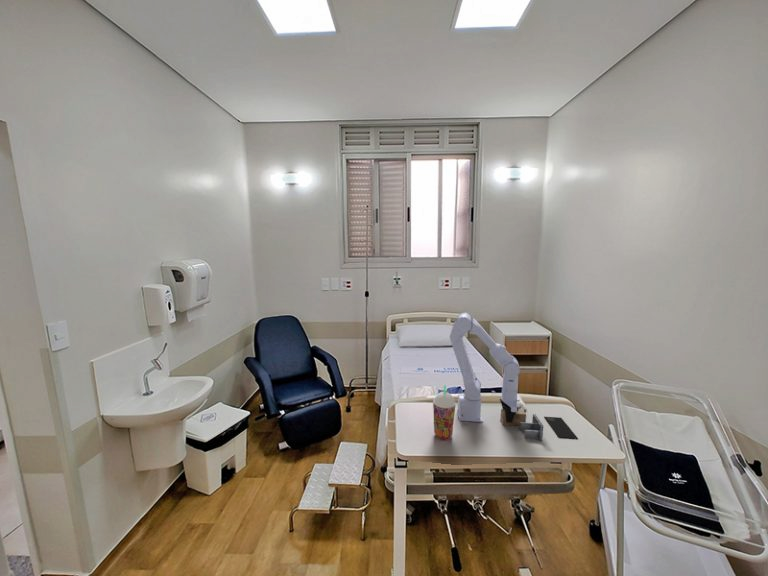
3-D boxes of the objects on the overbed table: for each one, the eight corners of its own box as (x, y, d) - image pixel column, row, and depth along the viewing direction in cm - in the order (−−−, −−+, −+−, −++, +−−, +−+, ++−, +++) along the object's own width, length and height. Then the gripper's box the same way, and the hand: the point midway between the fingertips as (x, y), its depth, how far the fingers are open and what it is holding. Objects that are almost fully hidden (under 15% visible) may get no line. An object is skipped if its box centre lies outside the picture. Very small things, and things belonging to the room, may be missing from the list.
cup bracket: (525, 439, 118) (526, 424, 117) (518, 427, 126) (519, 413, 125) (542, 440, 117) (543, 425, 117) (534, 428, 125) (535, 414, 124)
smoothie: (428, 436, 119) (429, 386, 117) (438, 426, 126) (440, 379, 123) (448, 445, 114) (450, 393, 112) (458, 434, 121) (460, 385, 118)
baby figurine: (518, 417, 134) (507, 399, 135) (506, 413, 145) (495, 397, 147) (534, 406, 135) (523, 388, 137) (520, 403, 147) (510, 387, 149)
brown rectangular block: (502, 424, 128) (503, 412, 127) (500, 420, 131) (501, 409, 130) (525, 425, 127) (526, 414, 126) (522, 421, 130) (523, 410, 129)
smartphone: (579, 440, 118) (561, 418, 133) (579, 438, 118) (561, 416, 133) (558, 439, 119) (542, 417, 134) (558, 437, 119) (542, 416, 134)
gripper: (526, 397, 120) (523, 430, 121) (514, 380, 134) (512, 410, 136) (507, 396, 120) (504, 429, 122) (497, 380, 135) (495, 409, 136)
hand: (507, 419), depth 129 cm, fingers closed on brown rectangular block, 3 cm apart
